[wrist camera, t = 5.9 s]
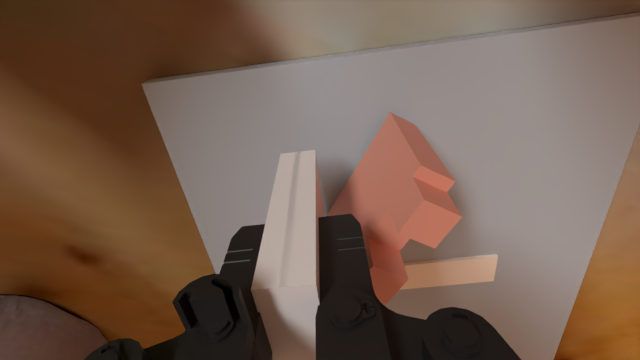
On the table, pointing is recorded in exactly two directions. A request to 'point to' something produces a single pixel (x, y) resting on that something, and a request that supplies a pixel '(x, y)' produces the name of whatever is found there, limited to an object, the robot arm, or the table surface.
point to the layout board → (449, 145)
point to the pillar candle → (43, 331)
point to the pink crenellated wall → (397, 201)
